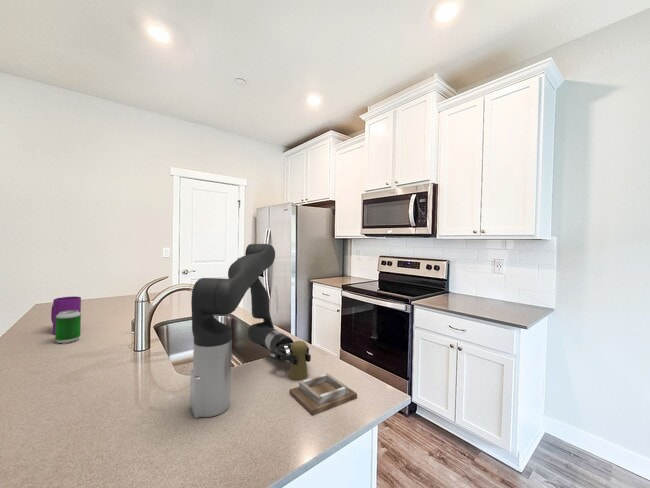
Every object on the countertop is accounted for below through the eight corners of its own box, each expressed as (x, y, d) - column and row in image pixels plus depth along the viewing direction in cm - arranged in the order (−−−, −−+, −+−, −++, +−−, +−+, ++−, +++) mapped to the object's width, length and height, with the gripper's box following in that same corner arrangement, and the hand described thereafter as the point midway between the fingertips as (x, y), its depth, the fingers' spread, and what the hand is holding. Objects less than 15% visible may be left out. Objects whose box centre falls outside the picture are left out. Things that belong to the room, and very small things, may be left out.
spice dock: (312, 415, 71) (312, 402, 71) (289, 393, 81) (289, 382, 81) (357, 397, 80) (357, 386, 80) (331, 380, 90) (331, 370, 90)
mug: (59, 336, 121) (60, 301, 121) (39, 331, 127) (40, 297, 127) (84, 330, 130) (85, 297, 130) (64, 325, 135) (65, 294, 135)
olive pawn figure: (304, 381, 88) (305, 346, 88) (286, 379, 90) (287, 344, 90) (309, 372, 94) (310, 339, 94) (292, 370, 96) (293, 338, 95)
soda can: (83, 340, 117) (83, 311, 117) (58, 346, 111) (59, 315, 111) (76, 336, 121) (76, 308, 121) (52, 341, 115) (53, 312, 115)
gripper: (260, 336, 99) (283, 353, 85) (296, 330, 108) (322, 344, 94) (260, 358, 100) (282, 378, 86) (295, 350, 108) (321, 367, 94)
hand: (303, 360), depth 90 cm, fingers closed on olive pawn figure, 4 cm apart
